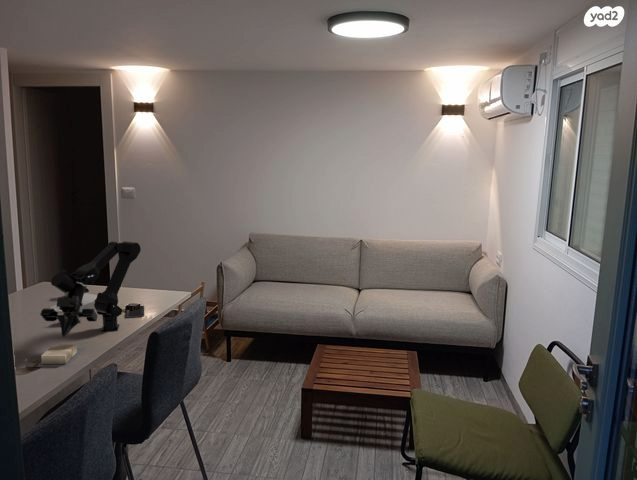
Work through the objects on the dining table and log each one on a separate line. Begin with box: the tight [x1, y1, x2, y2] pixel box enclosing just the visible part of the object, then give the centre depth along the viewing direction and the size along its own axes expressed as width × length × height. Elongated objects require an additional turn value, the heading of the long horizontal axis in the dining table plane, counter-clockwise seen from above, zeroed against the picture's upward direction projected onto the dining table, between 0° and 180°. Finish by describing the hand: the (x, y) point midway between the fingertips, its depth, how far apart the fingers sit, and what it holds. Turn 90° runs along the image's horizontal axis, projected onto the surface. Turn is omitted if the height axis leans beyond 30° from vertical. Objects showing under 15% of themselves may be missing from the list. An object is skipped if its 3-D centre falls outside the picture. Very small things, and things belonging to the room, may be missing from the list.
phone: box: [125, 305, 145, 319], centre depth 230 cm, size 8×1×15 cm
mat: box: [35, 347, 87, 368], centre depth 180 cm, size 16×11×1 cm
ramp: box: [49, 293, 98, 312], centre depth 233 cm, size 28×16×5 cm, turn 120°
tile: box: [41, 343, 78, 364], centre depth 178 cm, size 3×8×10 cm
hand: (63, 336), depth 181 cm, fingers closed
